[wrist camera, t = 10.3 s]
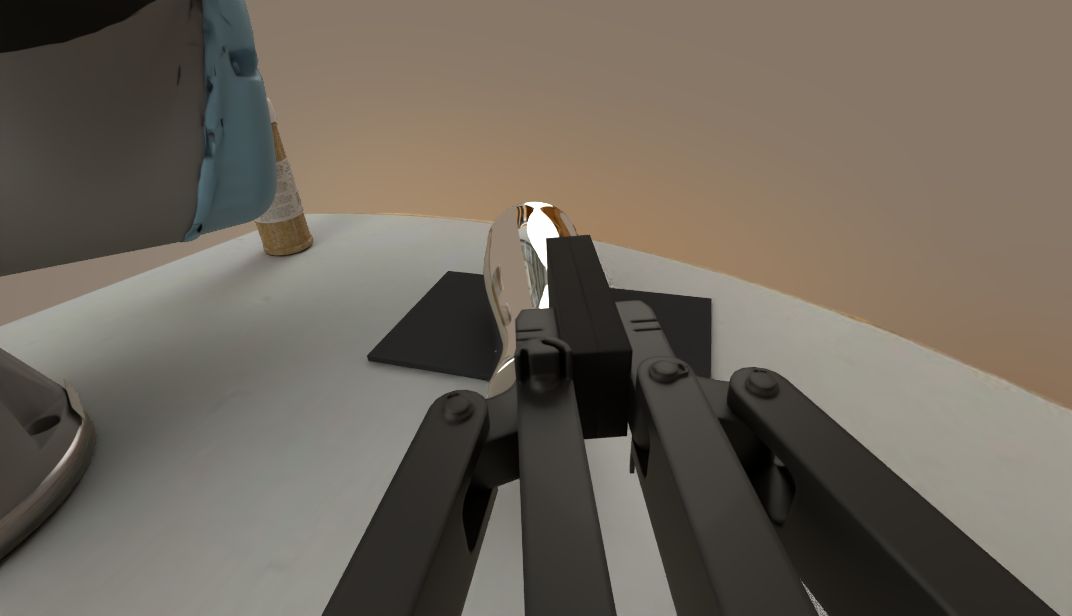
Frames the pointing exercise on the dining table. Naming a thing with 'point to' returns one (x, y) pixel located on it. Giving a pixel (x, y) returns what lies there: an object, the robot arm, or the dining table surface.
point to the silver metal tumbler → (517, 276)
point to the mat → (468, 339)
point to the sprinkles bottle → (283, 208)
